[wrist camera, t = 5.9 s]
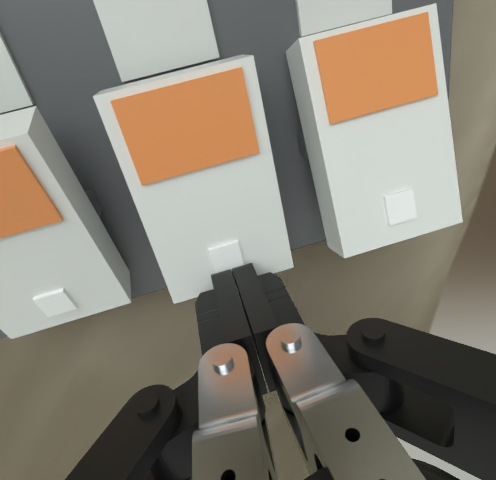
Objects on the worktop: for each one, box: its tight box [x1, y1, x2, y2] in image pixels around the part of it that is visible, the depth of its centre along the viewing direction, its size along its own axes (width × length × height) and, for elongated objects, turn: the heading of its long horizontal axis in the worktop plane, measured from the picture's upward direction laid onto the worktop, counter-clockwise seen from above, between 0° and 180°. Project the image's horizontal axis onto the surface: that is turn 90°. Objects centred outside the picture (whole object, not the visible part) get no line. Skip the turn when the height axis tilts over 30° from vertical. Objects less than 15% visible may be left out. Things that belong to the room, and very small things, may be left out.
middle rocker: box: [93, 54, 294, 304], centre depth 13 cm, size 7×4×2 cm, turn 12°
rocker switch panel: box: [0, 0, 453, 338], centre depth 14 cm, size 12×24×4 cm, turn 102°
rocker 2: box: [286, 3, 463, 258], centre depth 13 cm, size 7×4×2 cm, turn 12°
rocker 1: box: [0, 106, 132, 339], centre depth 12 cm, size 7×4×2 cm, turn 11°
